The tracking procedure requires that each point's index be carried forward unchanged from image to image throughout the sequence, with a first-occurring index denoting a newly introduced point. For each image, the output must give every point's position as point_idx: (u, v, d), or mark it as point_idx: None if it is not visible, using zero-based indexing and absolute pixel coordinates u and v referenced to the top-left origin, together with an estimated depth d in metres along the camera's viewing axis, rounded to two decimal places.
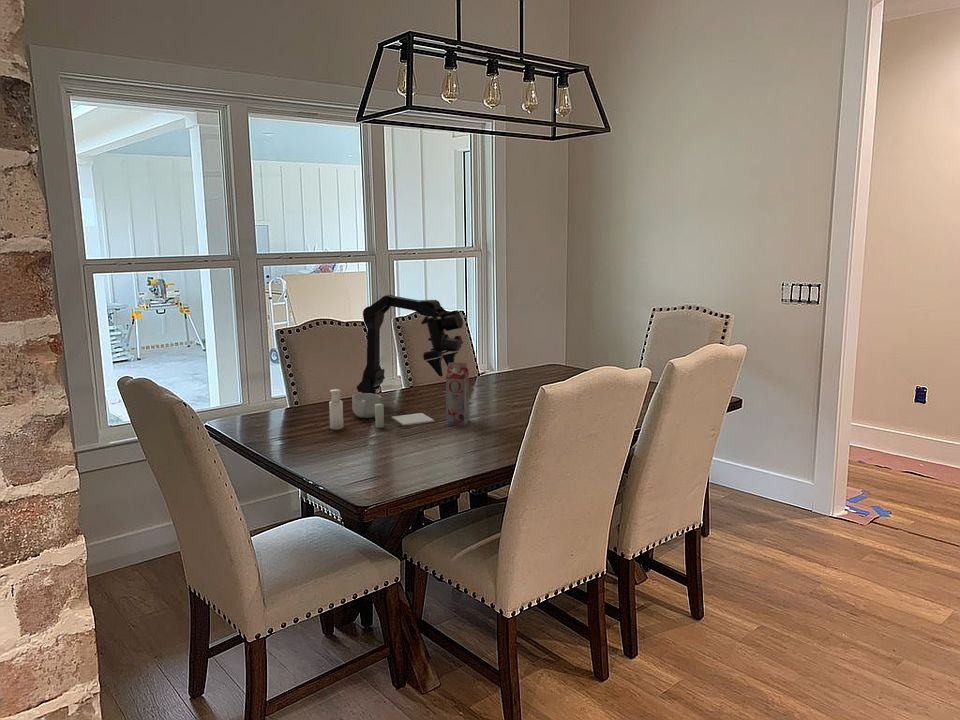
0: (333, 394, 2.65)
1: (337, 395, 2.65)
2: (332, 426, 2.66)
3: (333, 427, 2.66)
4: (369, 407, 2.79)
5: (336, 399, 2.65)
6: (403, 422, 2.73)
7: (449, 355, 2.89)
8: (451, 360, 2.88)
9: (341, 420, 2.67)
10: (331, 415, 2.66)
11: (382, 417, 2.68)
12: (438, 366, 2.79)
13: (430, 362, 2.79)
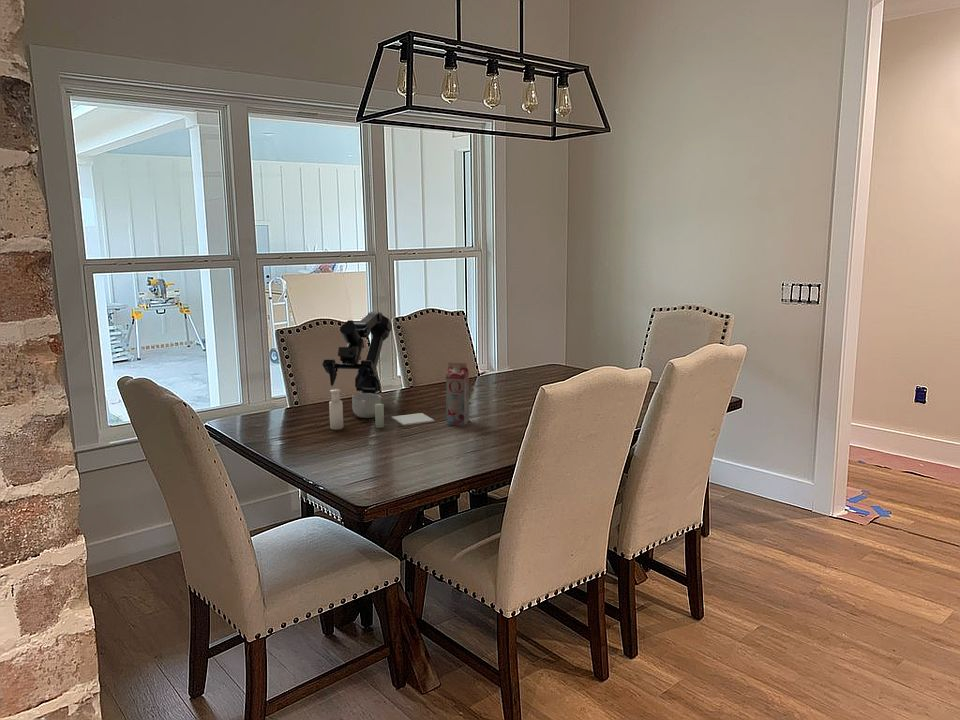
0: (333, 394, 2.65)
1: (337, 395, 2.65)
2: (332, 426, 2.66)
3: (333, 427, 2.66)
4: (369, 407, 2.79)
5: (336, 399, 2.65)
6: (403, 422, 2.73)
7: None
8: None
9: (341, 420, 2.67)
10: (331, 415, 2.66)
11: (382, 417, 2.68)
12: None
13: None
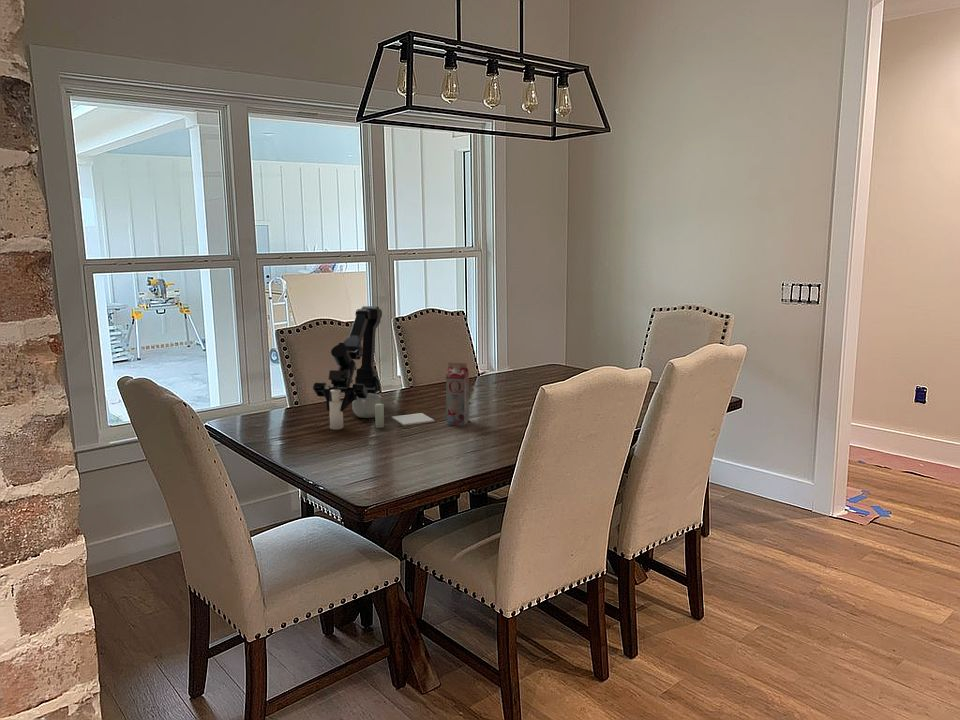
0: (333, 394, 2.65)
1: (337, 395, 2.65)
2: (332, 426, 2.66)
3: (333, 427, 2.66)
4: (369, 407, 2.79)
5: (336, 399, 2.65)
6: (403, 422, 2.73)
7: None
8: None
9: (341, 420, 2.67)
10: (331, 415, 2.66)
11: (382, 417, 2.68)
12: None
13: None
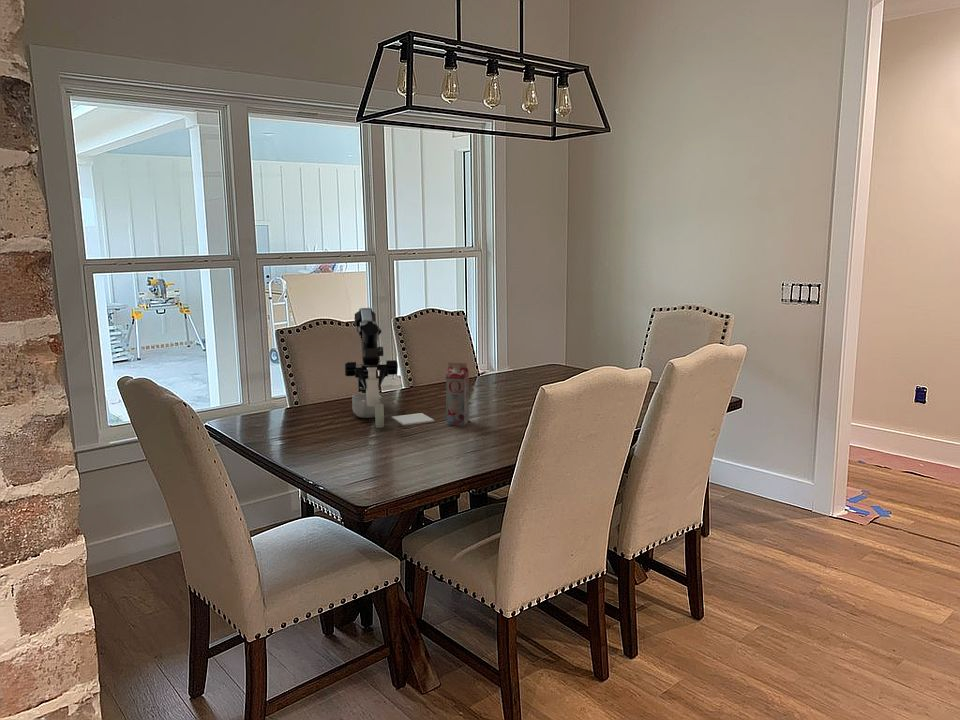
0: (371, 371, 2.69)
1: (375, 372, 2.70)
2: (371, 403, 2.71)
3: (372, 404, 2.71)
4: (369, 407, 2.79)
5: (374, 376, 2.70)
6: (403, 422, 2.73)
7: None
8: (379, 376, 2.73)
9: (378, 397, 2.72)
10: (370, 392, 2.70)
11: (382, 417, 2.68)
12: (361, 378, 2.72)
13: (359, 377, 2.75)
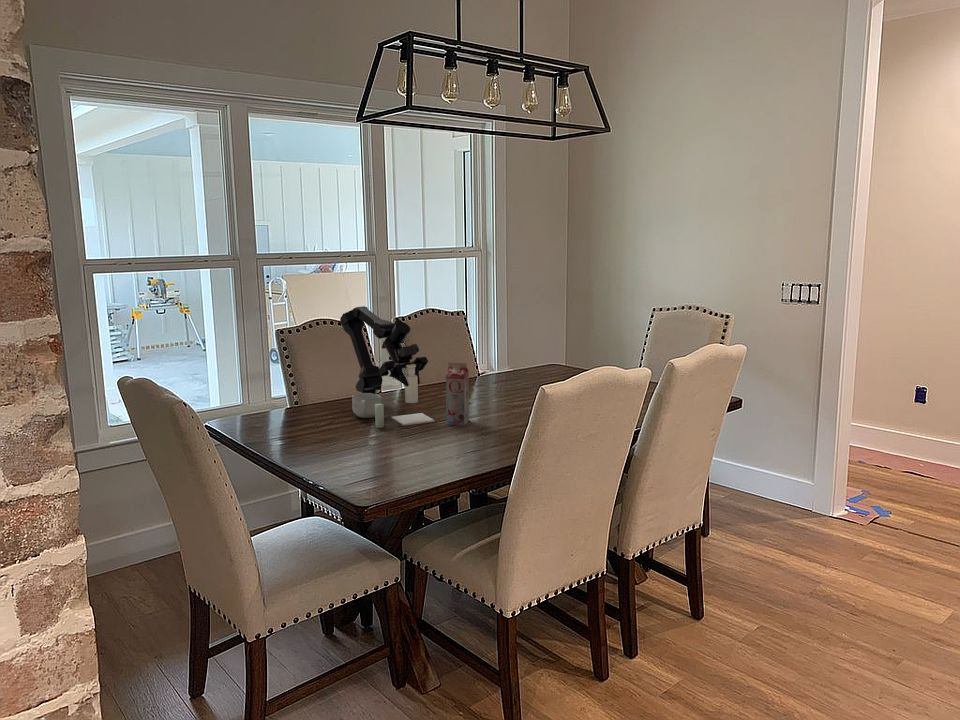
0: (412, 369, 2.74)
1: (414, 369, 2.75)
2: (413, 400, 2.75)
3: (414, 401, 2.75)
4: (369, 407, 2.79)
5: (414, 373, 2.75)
6: (403, 422, 2.73)
7: None
8: (415, 373, 2.78)
9: None
10: (412, 389, 2.74)
11: (382, 417, 2.68)
12: (401, 376, 2.74)
13: (394, 376, 2.76)
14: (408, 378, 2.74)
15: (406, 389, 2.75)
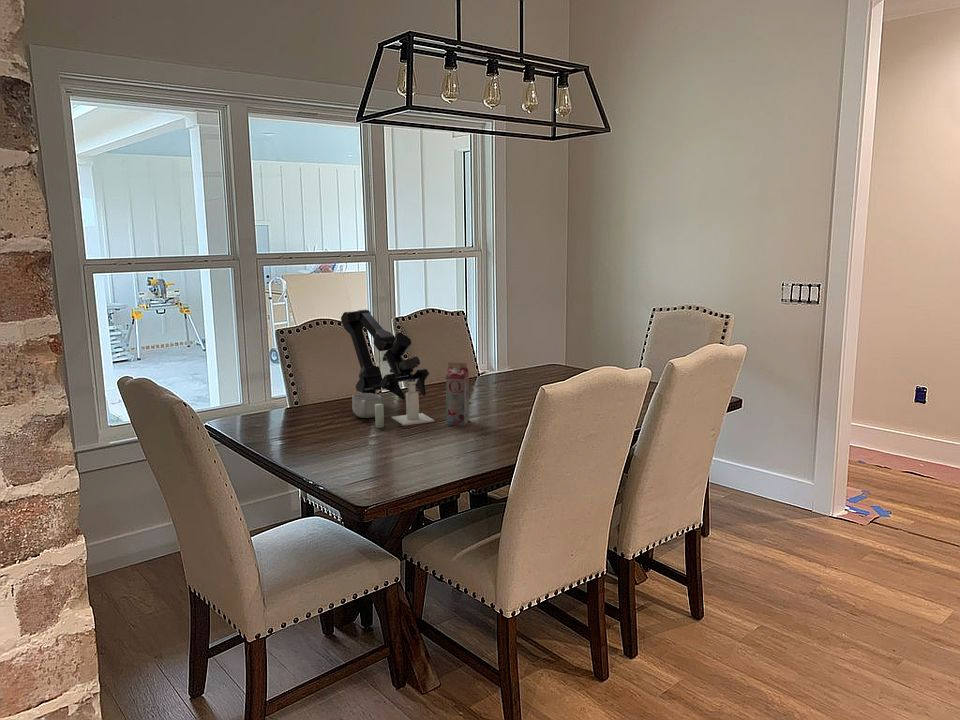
0: (413, 385, 2.76)
1: (415, 386, 2.77)
2: (414, 416, 2.77)
3: (415, 417, 2.77)
4: (369, 407, 2.79)
5: (415, 389, 2.77)
6: (403, 422, 2.73)
7: (418, 381, 2.82)
8: (421, 384, 2.81)
9: None
10: (413, 406, 2.76)
11: (382, 417, 2.68)
12: (397, 390, 2.74)
13: (390, 389, 2.76)
14: (409, 394, 2.75)
15: (407, 405, 2.77)
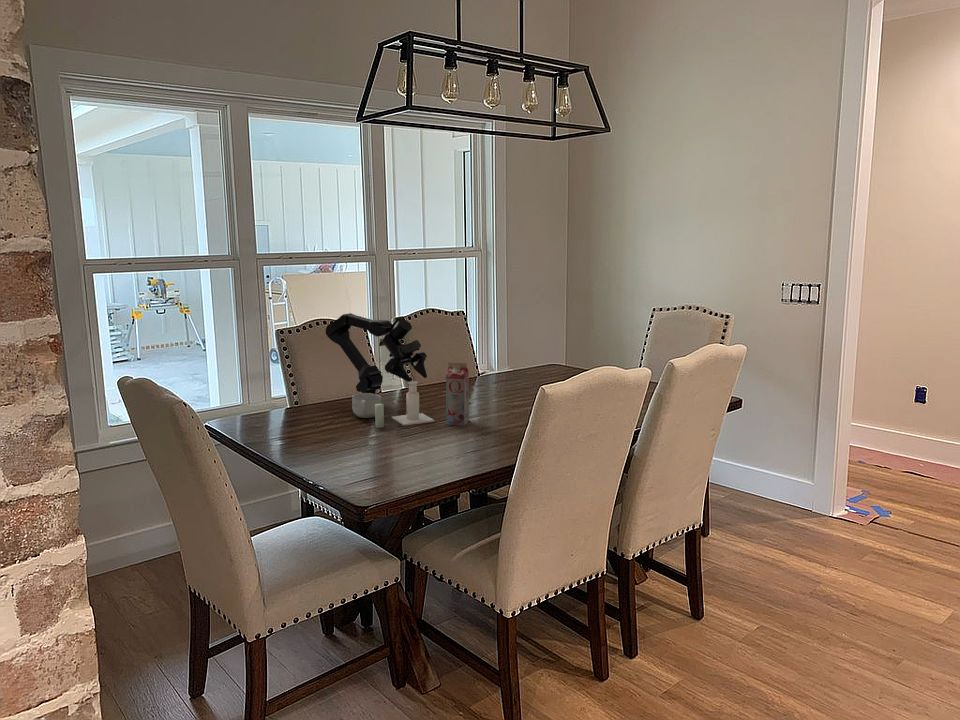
0: (414, 386, 2.75)
1: (416, 386, 2.77)
2: (414, 416, 2.77)
3: (415, 417, 2.77)
4: (369, 407, 2.79)
5: (416, 390, 2.77)
6: (403, 422, 2.73)
7: (418, 364, 2.90)
8: (421, 367, 2.89)
9: None
10: (413, 406, 2.76)
11: (382, 417, 2.68)
12: (403, 373, 2.80)
13: (395, 373, 2.81)
14: (410, 395, 2.75)
15: (408, 406, 2.76)
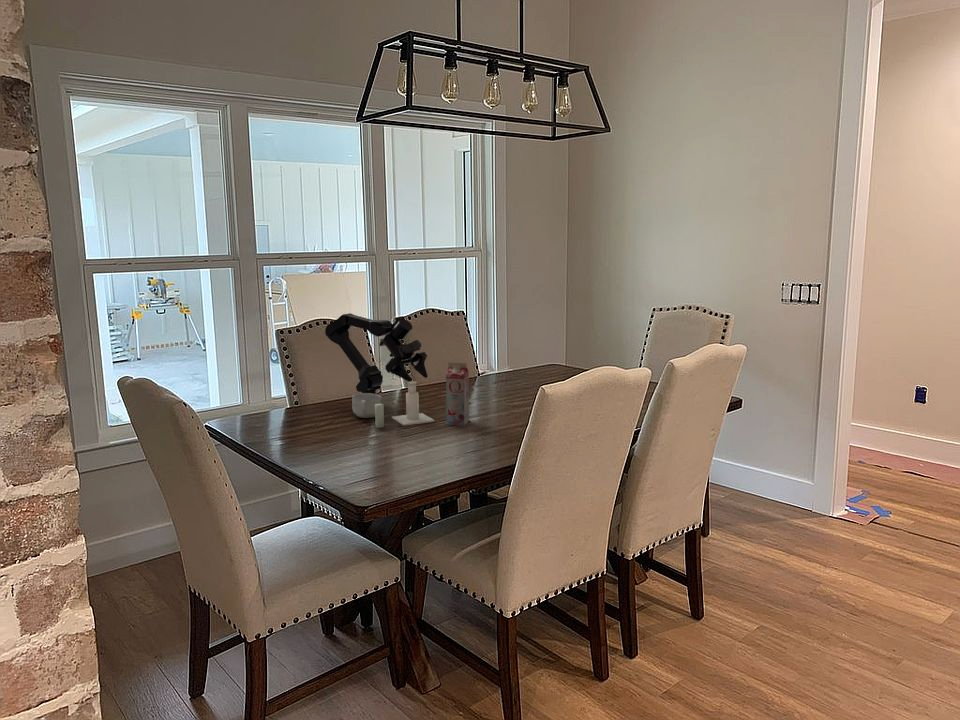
0: (413, 385, 2.75)
1: (415, 386, 2.77)
2: (414, 416, 2.77)
3: (415, 417, 2.77)
4: (369, 407, 2.79)
5: (415, 390, 2.77)
6: (403, 422, 2.73)
7: (418, 363, 2.90)
8: (421, 367, 2.89)
9: None
10: (413, 406, 2.76)
11: (382, 417, 2.68)
12: (403, 372, 2.80)
13: (396, 373, 2.82)
14: (409, 395, 2.75)
15: (407, 406, 2.76)
